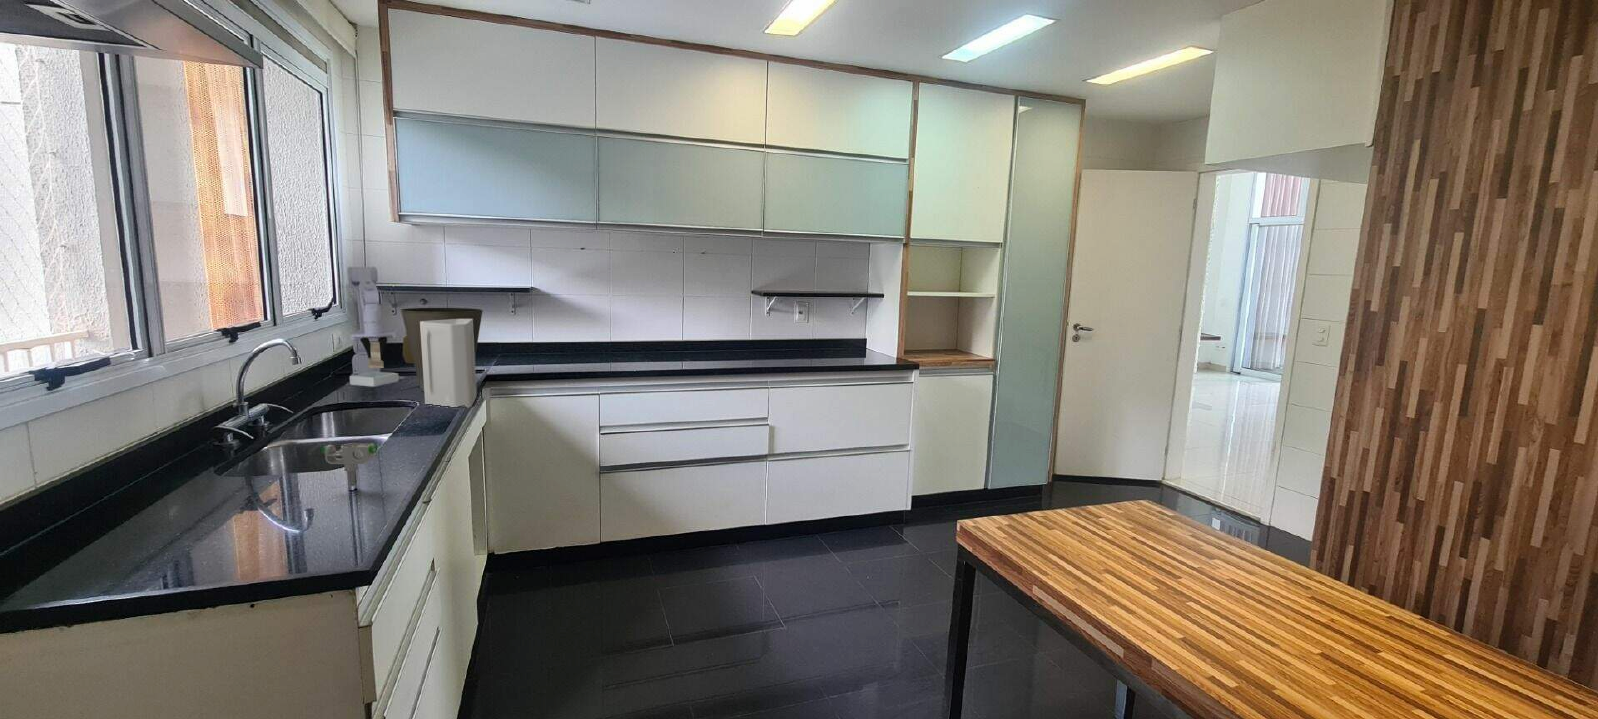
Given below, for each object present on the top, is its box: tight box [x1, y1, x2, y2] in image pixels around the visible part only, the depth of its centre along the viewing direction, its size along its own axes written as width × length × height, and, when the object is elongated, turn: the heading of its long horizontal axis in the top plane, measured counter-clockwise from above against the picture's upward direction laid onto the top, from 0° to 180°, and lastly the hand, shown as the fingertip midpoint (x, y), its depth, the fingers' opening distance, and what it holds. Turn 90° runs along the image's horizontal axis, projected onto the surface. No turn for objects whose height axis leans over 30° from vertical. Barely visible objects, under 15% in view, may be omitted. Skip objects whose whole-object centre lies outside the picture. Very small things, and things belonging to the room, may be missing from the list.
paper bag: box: [420, 319, 477, 409], centre depth 222 cm, size 19×15×28 cm
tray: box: [349, 371, 400, 388], centre depth 248 cm, size 11×11×4 cm
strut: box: [368, 341, 385, 369], centre depth 248 cm, size 4×4×10 cm
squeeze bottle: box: [402, 331, 414, 365], centre depth 297 cm, size 8×8×18 cm
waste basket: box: [400, 307, 484, 392], centre depth 243 cm, size 27×20×30 cm
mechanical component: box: [322, 442, 378, 486], centre depth 141 cm, size 3×10×10 cm, turn 95°
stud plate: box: [398, 375, 409, 380], centre depth 259 cm, size 8×8×3 cm
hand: (375, 357), depth 248 cm, fingers closed on strut, 3 cm apart
